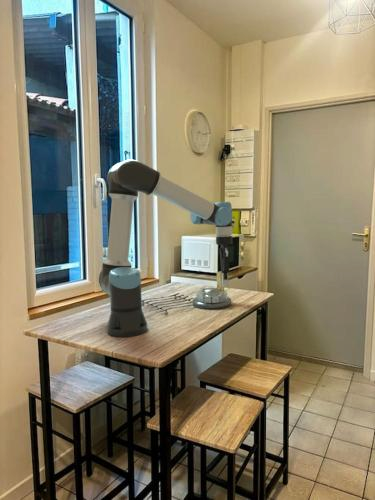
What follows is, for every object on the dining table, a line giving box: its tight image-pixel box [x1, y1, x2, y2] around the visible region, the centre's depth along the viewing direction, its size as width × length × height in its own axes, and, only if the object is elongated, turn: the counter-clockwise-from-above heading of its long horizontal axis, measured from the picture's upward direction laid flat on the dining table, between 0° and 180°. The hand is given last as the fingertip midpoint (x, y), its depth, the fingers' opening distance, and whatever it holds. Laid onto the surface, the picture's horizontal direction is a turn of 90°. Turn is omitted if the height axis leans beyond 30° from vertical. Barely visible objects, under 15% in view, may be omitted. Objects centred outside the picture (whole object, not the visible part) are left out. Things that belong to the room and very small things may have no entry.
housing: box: [192, 287, 232, 310], centre depth 179 cm, size 18×18×7 cm
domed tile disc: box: [195, 271, 228, 303], centre depth 179 cm, size 14×14×12 cm
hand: (225, 286), depth 179 cm, fingers closed
